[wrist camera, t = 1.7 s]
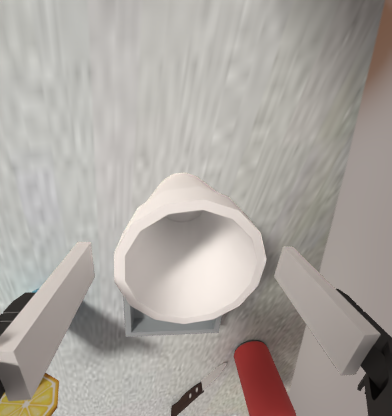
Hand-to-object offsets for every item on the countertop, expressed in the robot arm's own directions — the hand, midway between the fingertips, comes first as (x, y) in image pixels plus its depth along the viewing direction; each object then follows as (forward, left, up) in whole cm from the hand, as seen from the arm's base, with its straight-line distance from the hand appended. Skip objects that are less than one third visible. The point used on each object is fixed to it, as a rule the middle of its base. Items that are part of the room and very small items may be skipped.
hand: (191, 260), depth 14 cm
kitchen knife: (+40, +6, -12) cm, 42 cm away
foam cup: (0, 0, -12) cm, 12 cm away
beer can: (+30, +15, -12) cm, 35 cm away
